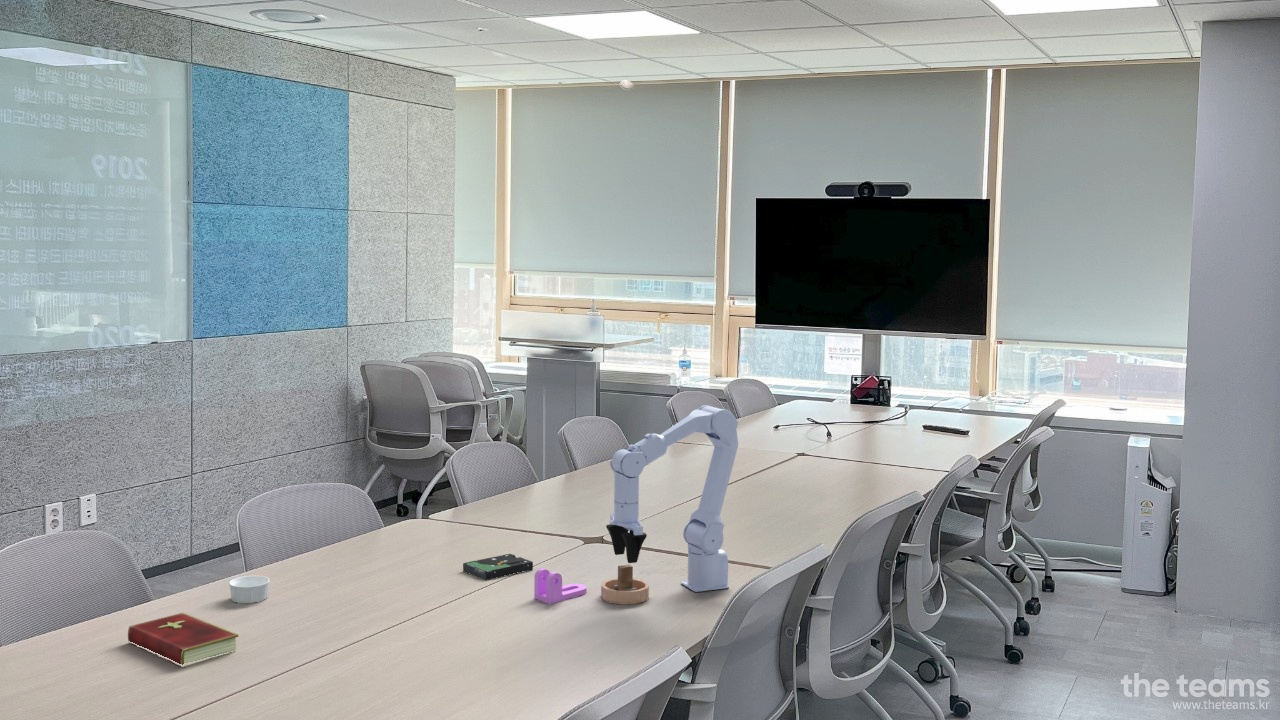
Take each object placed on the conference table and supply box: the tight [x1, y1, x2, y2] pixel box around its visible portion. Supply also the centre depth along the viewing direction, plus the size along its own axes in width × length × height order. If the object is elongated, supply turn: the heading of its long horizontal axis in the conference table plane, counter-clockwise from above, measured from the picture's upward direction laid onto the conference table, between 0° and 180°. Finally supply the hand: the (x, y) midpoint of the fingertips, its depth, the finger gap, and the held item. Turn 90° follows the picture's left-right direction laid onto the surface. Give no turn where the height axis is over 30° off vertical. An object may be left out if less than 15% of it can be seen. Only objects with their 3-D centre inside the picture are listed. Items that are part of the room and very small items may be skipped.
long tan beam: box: [617, 564, 634, 591], centre depth 264 cm, size 3×2×7 cm, turn 114°
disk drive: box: [462, 553, 534, 581], centre depth 285 cm, size 10×3×15 cm
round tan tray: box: [600, 577, 650, 606], centre depth 264 cm, size 11×11×3 cm
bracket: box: [533, 567, 588, 605], centre depth 265 cm, size 13×6×7 cm, turn 135°
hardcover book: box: [127, 612, 239, 665], centre depth 226 cm, size 12×21×4 cm, turn 51°
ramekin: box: [228, 575, 271, 604], centre depth 258 cm, size 9×9×4 cm
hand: (625, 558), depth 263 cm, fingers open, 7 cm apart
